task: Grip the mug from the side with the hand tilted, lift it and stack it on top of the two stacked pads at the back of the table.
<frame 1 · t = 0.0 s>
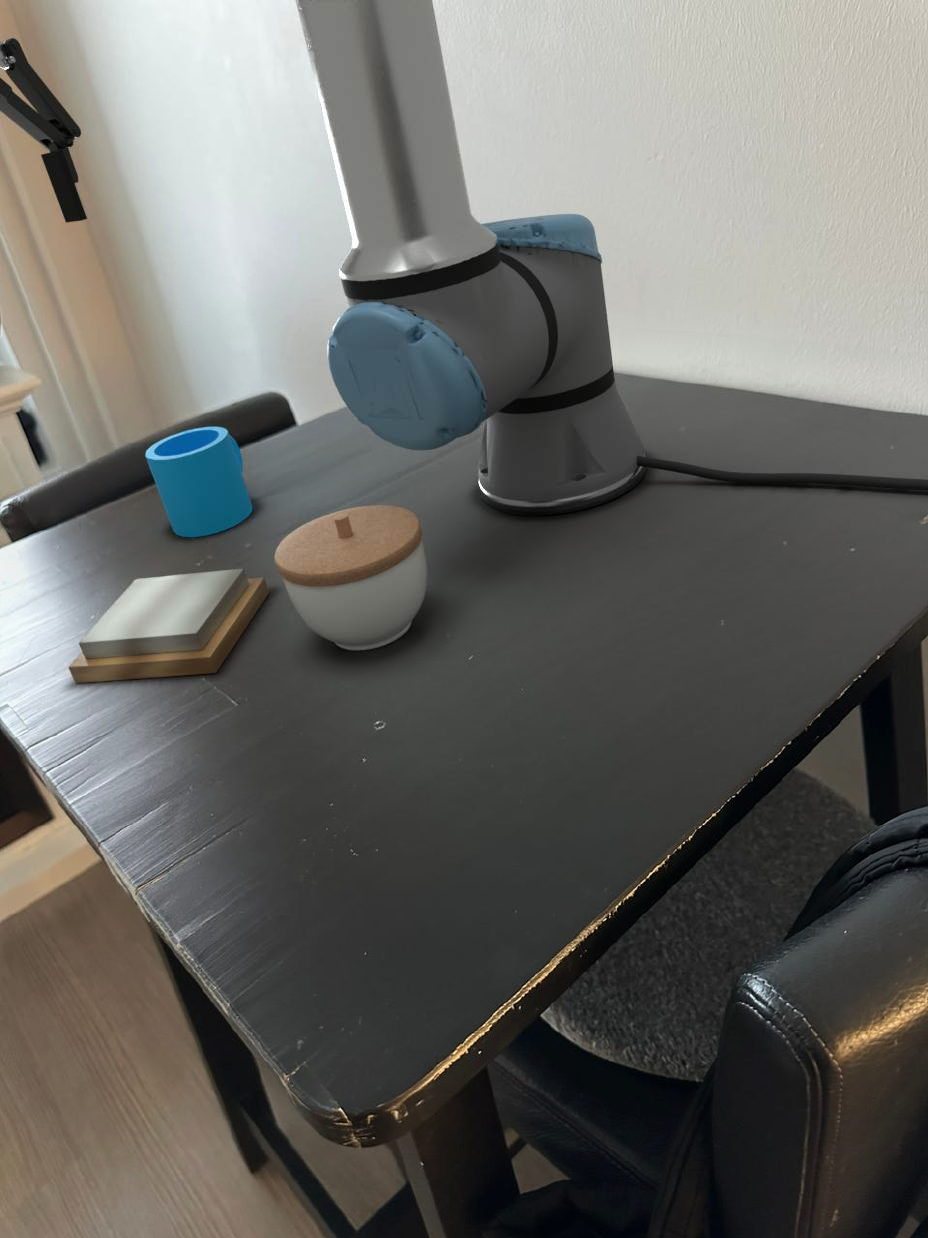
hand: (20, 238, 100), 28 cm above the table, tool pointing down, fingers open, 13 cm apart
pad stack: (176, 636, 83), on the table
trinket box: (372, 630, 77), on the table
mug: (222, 511, 105), on the table
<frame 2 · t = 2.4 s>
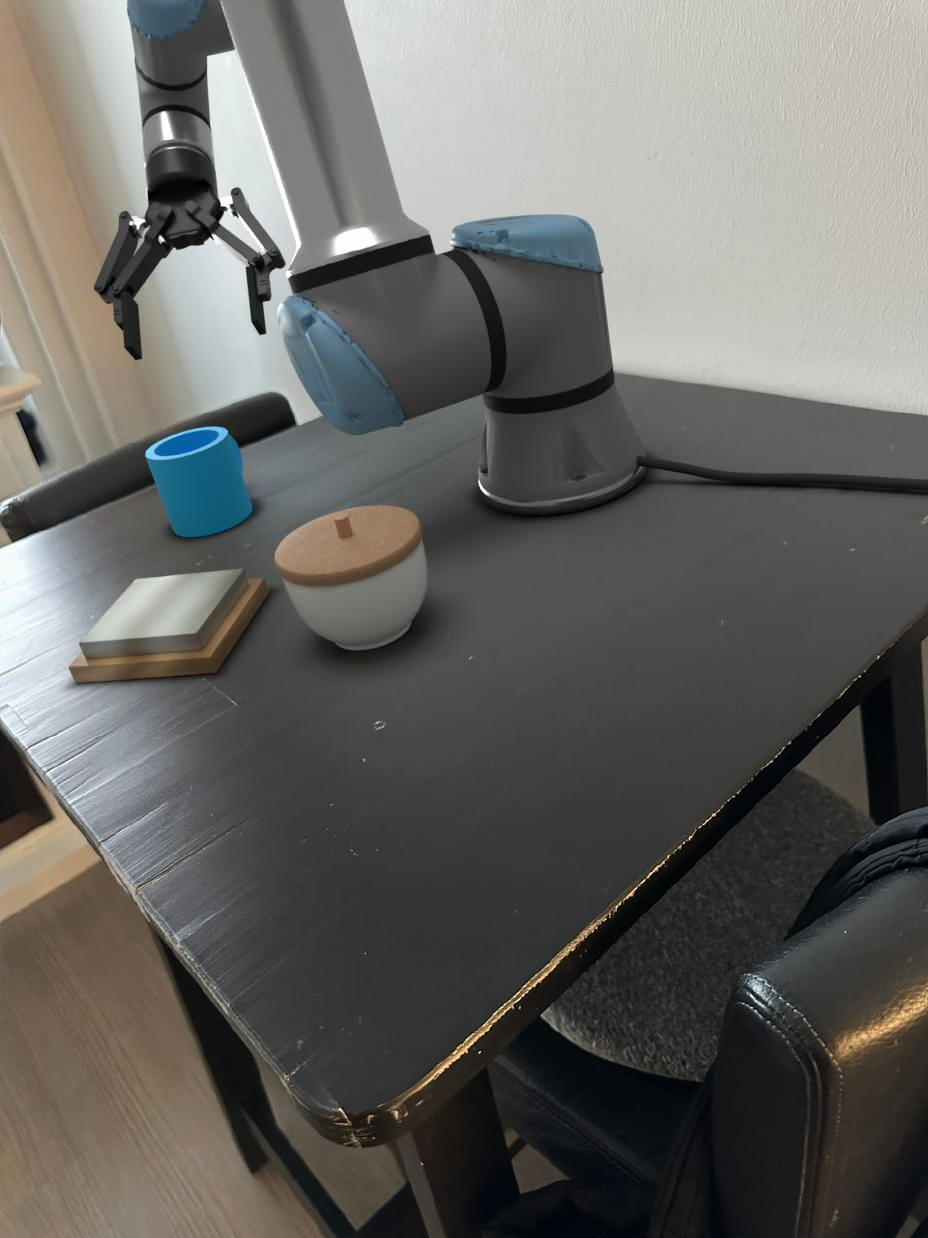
hand: (195, 341, 107), 15 cm above the table, tool tilted 45°, fingers open, 13 cm apart
nothing on the table moved.
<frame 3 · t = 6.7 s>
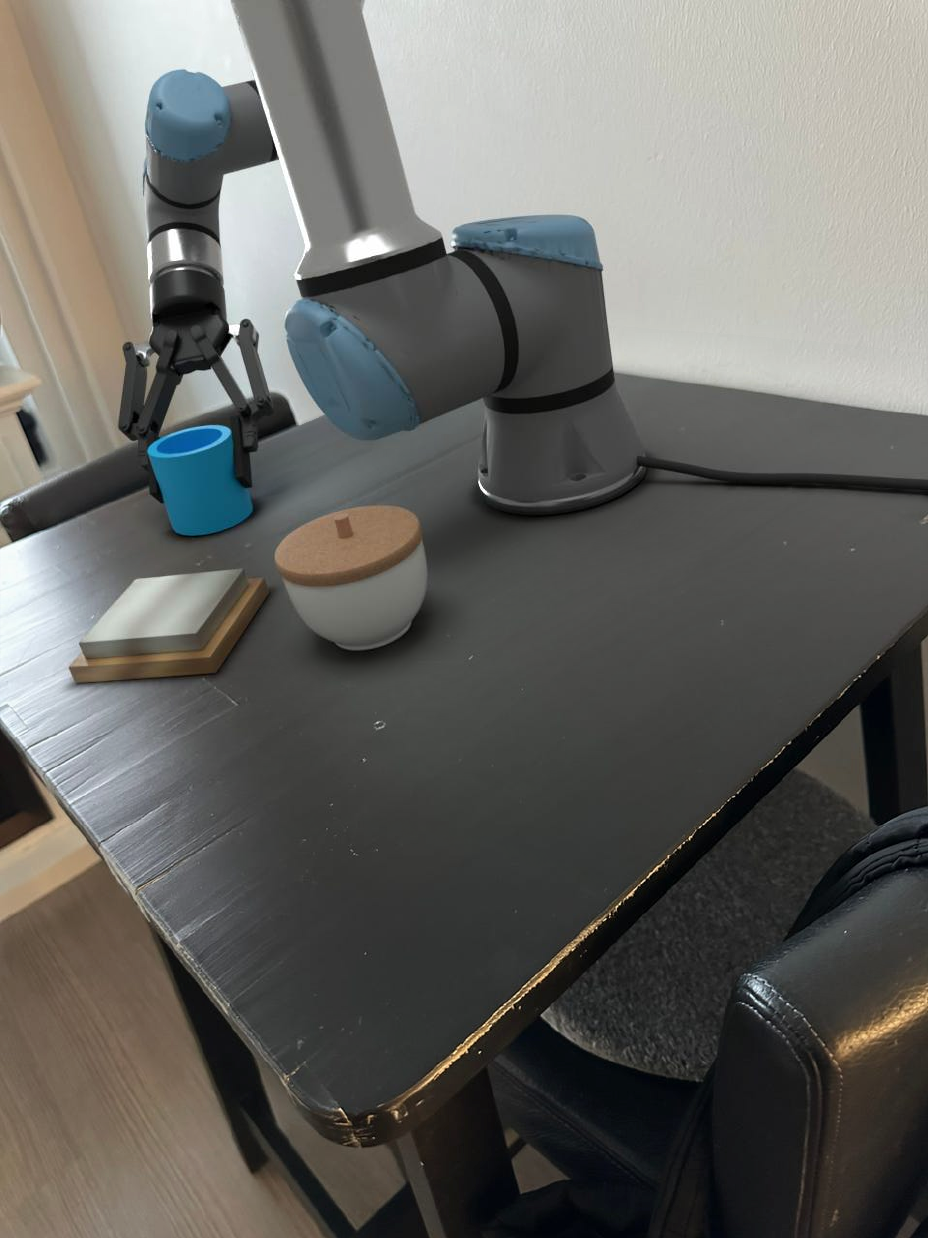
hand: (201, 490, 100), 4 cm above the table, tool tilted 45°, fingers closed on mug, 8 cm apart
mug: (222, 510, 105), on the table, touching gripper
everything else where it was.
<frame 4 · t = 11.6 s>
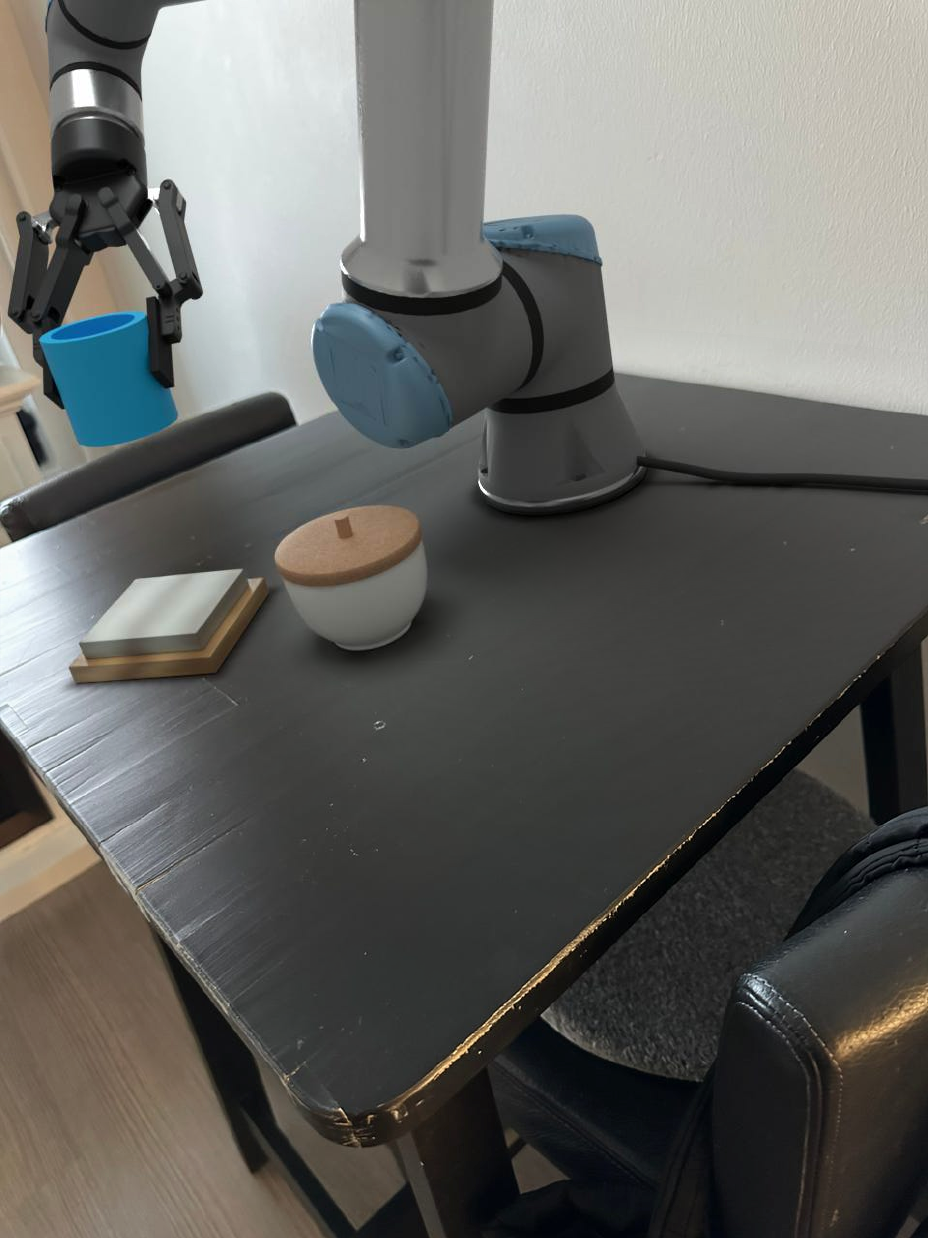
hand: (109, 390, 80), 19 cm above the table, tool tilted 45°, fingers closed on mug, 8 cm apart
mug: (141, 420, 84), point 15 cm above the table, touching gripper
everything else where it was.
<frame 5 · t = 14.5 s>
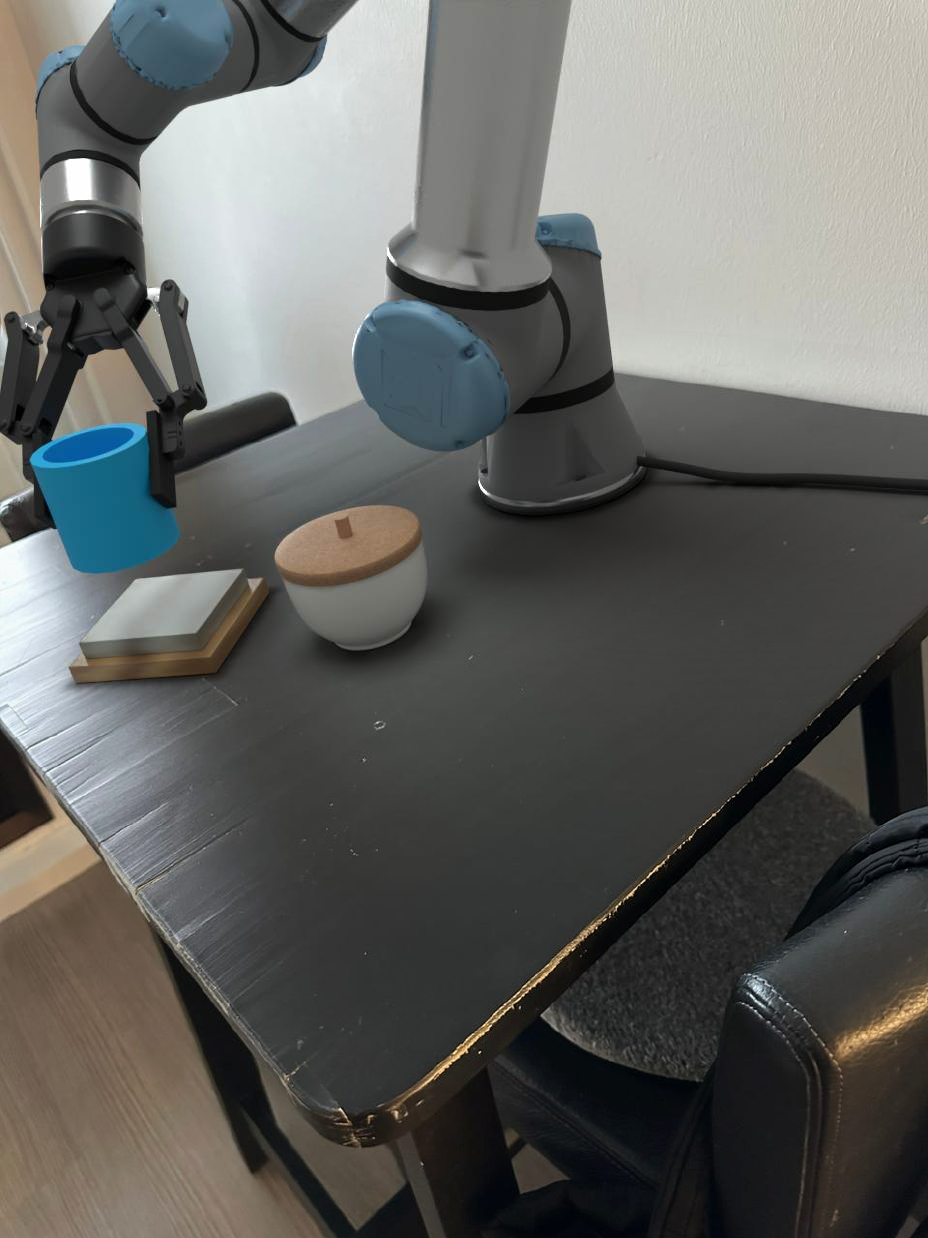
hand: (106, 511, 73), 13 cm above the table, tool tilted 45°, fingers closed on mug, 8 cm apart
mug: (140, 537, 78), point 9 cm above the table, touching gripper
everything else where it was.
when the fingers open (7 cm above the table, at t = 16.7 s): mug stays where it is, resting on pad stack.
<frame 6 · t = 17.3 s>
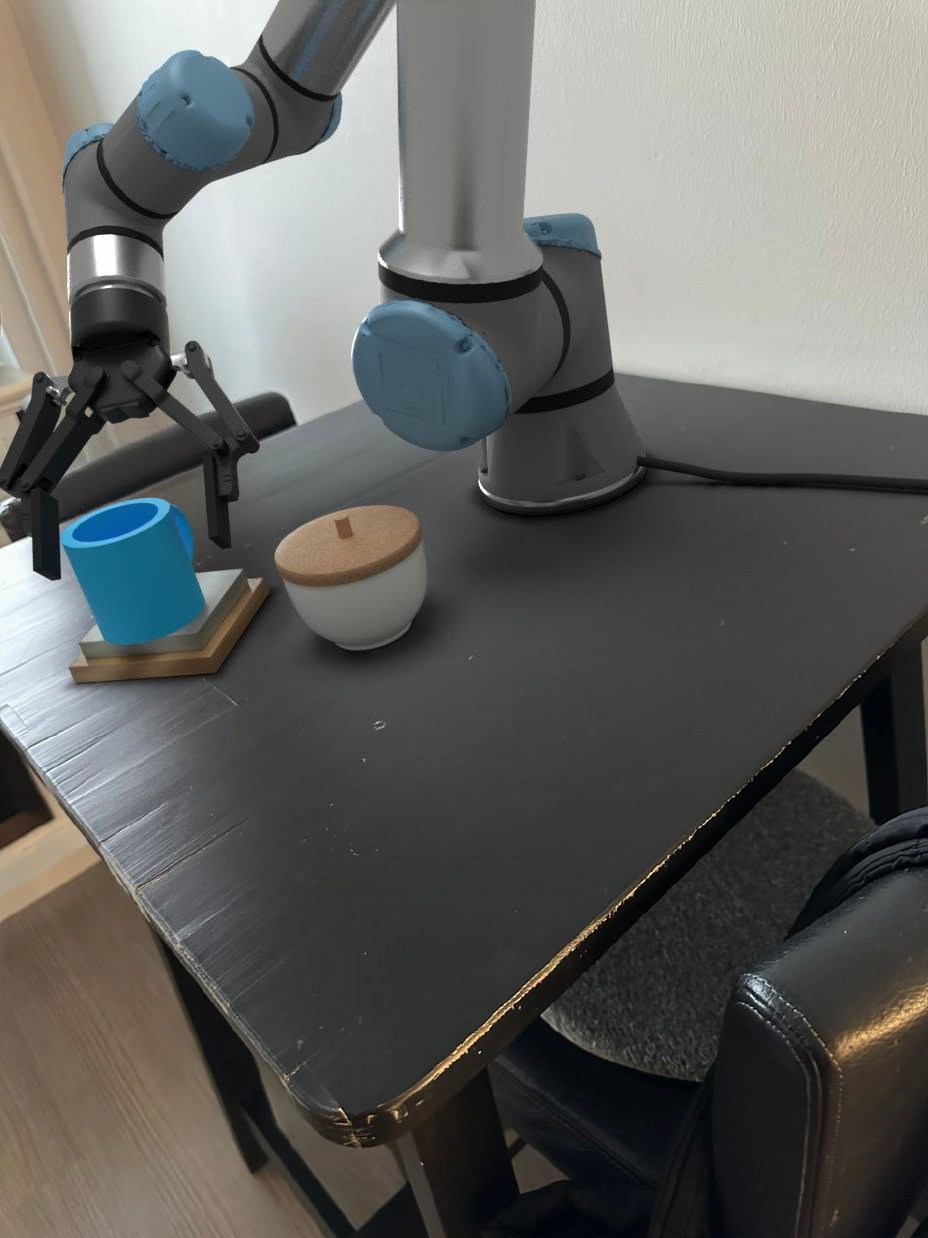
hand: (133, 559, 76), 8 cm above the table, tool tilted 45°, fingers open, 13 cm apart
mug: (166, 605, 81), point 3 cm above the table, touching pad stack
everything else where it was.
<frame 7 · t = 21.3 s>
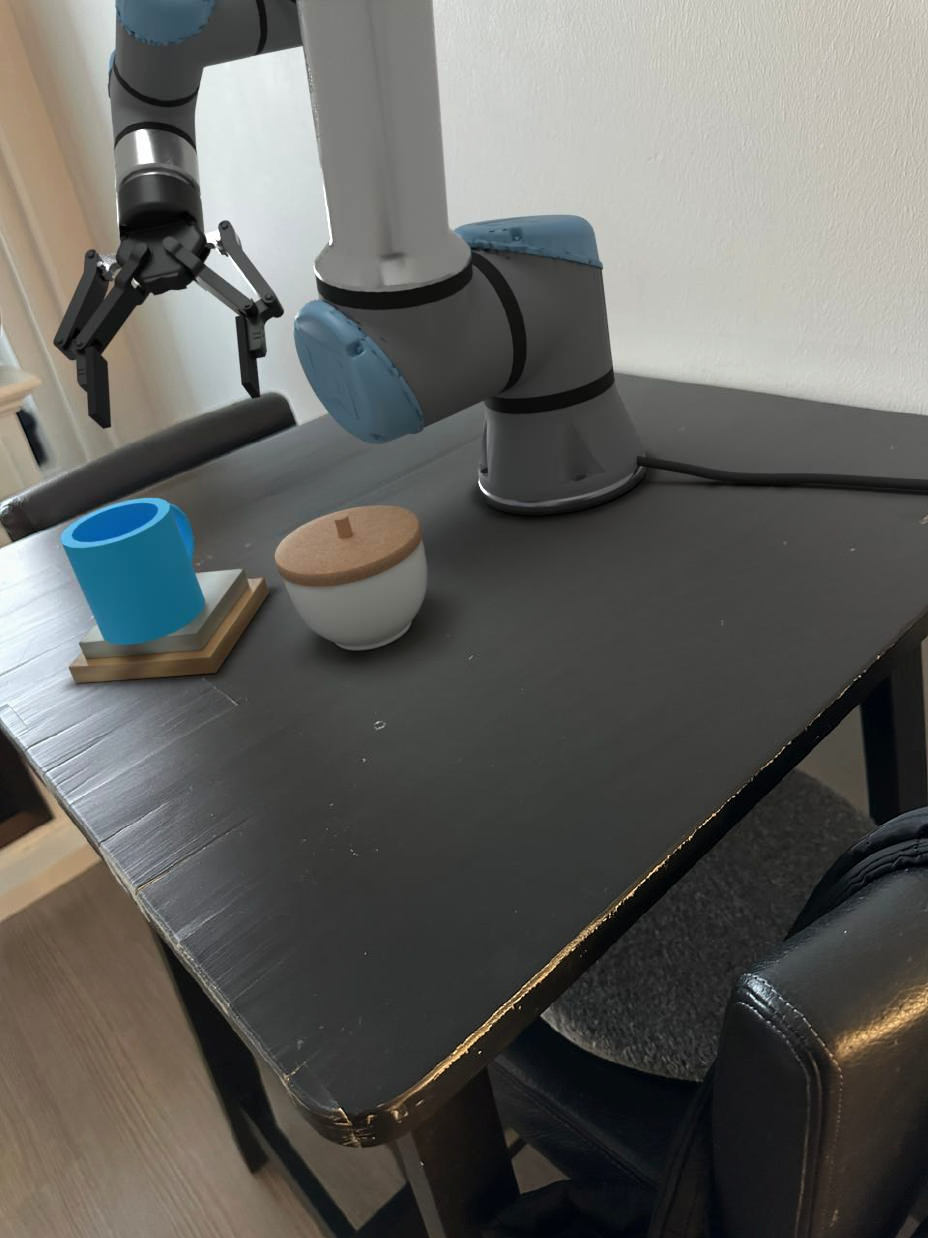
hand: (175, 406, 88), 14 cm above the table, tool tilted 45°, fingers open, 13 cm apart
nothing on the table moved.
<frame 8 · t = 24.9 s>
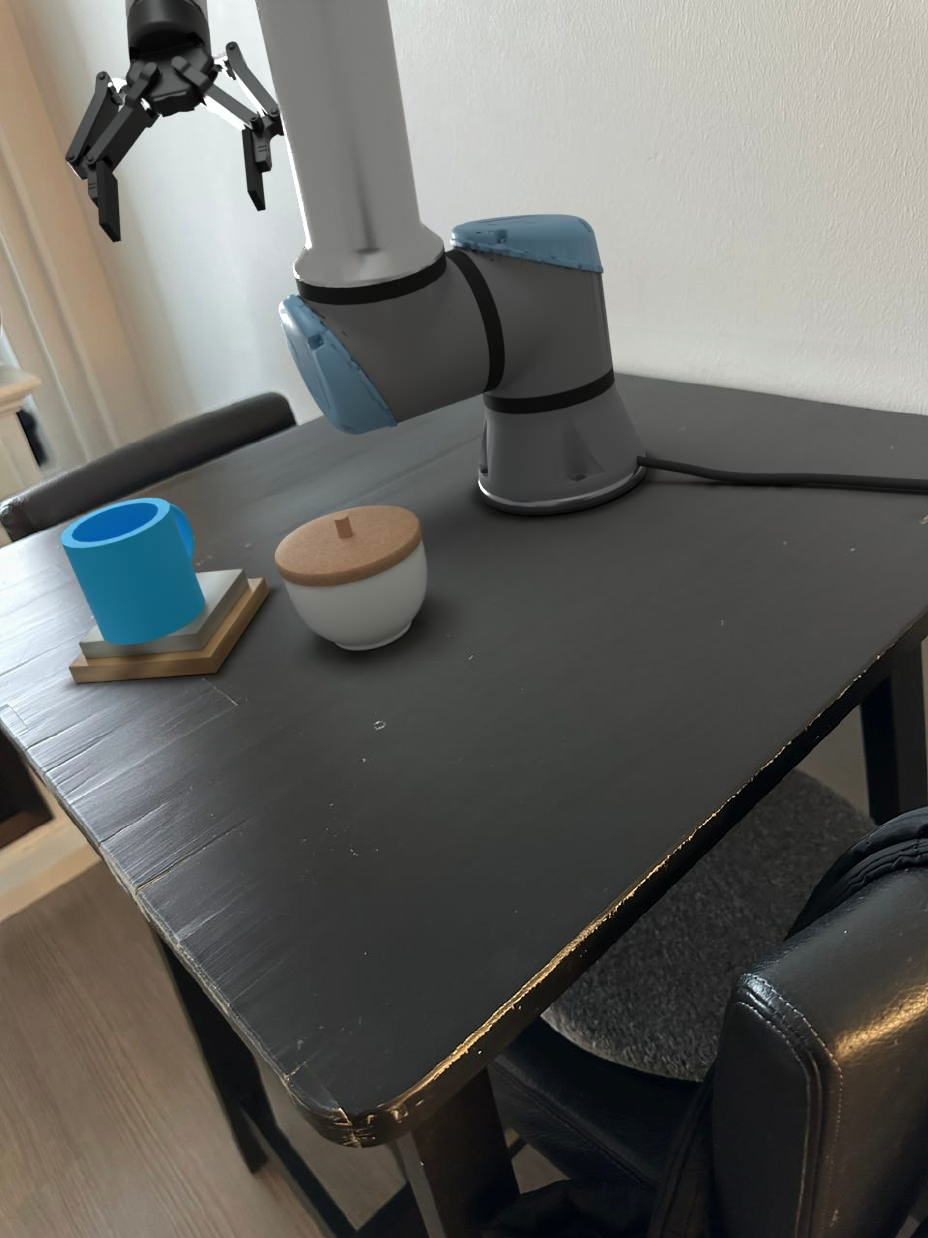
hand: (182, 217, 91), 28 cm above the table, tool tilted 45°, fingers open, 13 cm apart
nothing on the table moved.
at the end: mug inside the target area on the pad stack (0.1 cm from its centre), point 2.8 cm above the pad stack's base; mug tilted 0° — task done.
